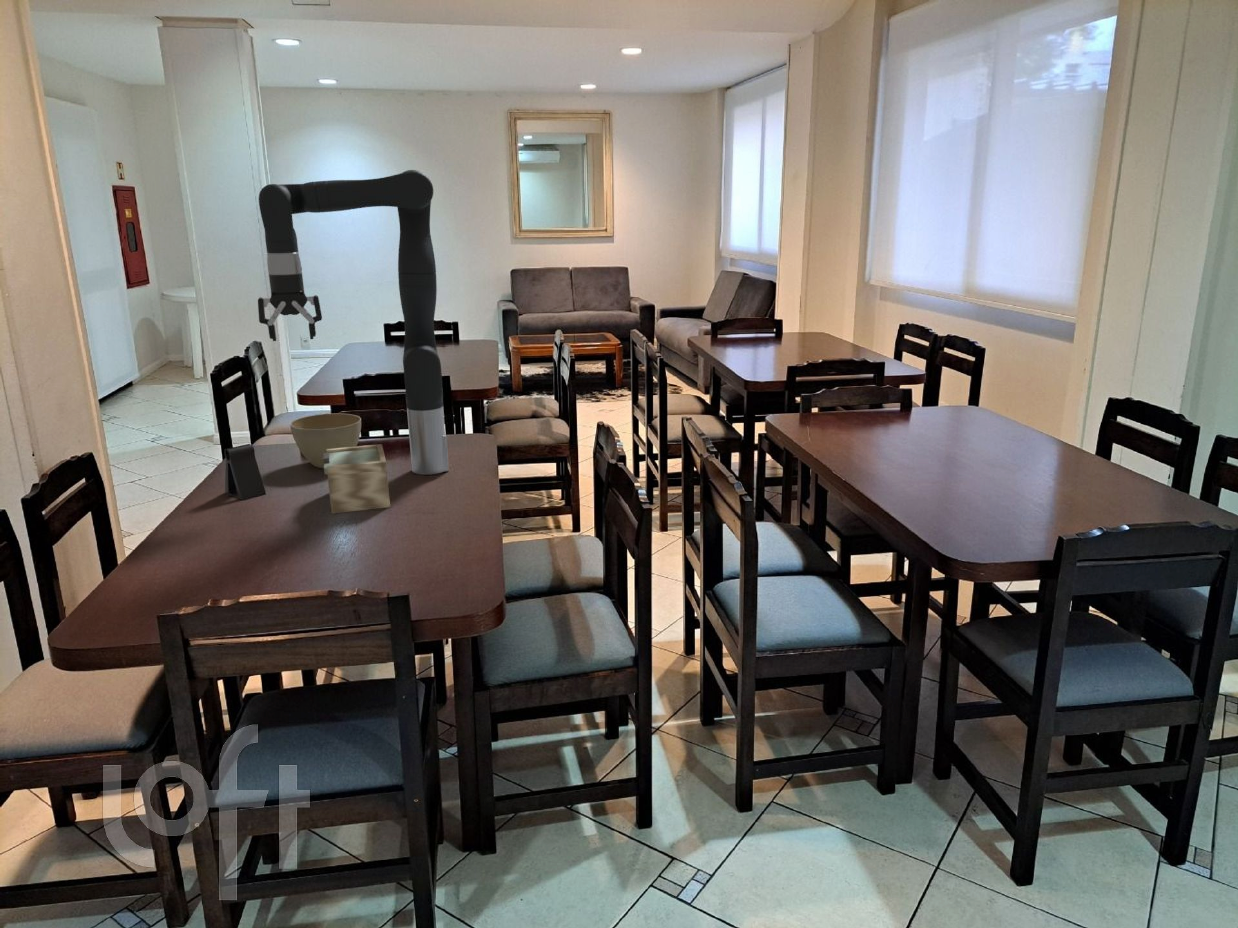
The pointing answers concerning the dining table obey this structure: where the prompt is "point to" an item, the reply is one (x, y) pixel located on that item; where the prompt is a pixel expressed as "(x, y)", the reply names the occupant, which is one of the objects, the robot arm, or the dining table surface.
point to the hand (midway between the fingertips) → (293, 339)
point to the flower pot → (325, 434)
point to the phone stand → (242, 473)
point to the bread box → (357, 478)
